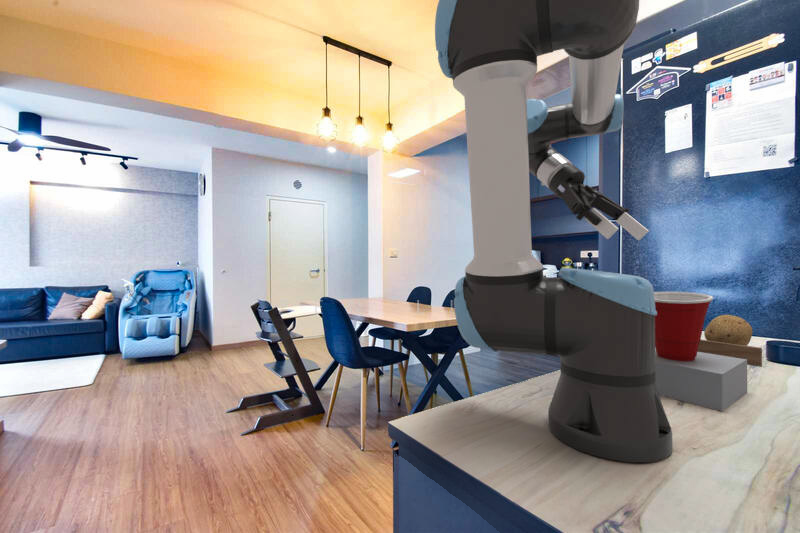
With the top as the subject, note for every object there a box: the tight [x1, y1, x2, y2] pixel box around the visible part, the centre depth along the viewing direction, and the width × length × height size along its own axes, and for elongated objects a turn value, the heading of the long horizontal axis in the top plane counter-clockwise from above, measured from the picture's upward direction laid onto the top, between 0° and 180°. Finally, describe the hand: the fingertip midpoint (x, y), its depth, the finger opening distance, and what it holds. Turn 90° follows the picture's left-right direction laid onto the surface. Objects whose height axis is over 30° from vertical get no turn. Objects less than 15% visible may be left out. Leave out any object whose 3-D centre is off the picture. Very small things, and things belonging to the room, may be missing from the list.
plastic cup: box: [654, 291, 714, 361], centre depth 68 cm, size 11×11×12 cm
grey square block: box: [655, 348, 748, 412], centre depth 68 cm, size 14×14×6 cm
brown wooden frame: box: [697, 339, 763, 367], centre depth 81 cm, size 22×15×7 cm
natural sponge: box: [703, 314, 753, 346], centre depth 92 cm, size 9×9×10 cm
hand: (629, 234), depth 75 cm, fingers open, 13 cm apart
